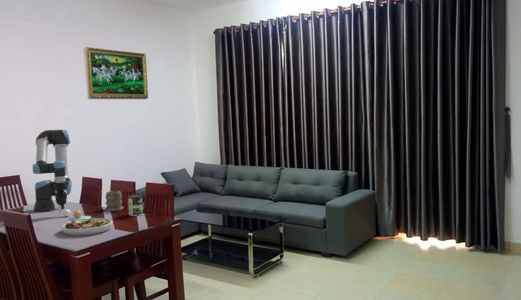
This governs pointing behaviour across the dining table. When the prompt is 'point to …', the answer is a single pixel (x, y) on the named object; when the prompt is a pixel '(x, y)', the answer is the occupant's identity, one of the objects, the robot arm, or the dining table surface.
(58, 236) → the dining table surface
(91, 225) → the bowl
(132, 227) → the dining table surface
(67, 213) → the cue ball
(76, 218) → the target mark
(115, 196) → the tankard
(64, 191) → the robot arm
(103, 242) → the dining table surface
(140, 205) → the coffee can
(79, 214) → the object ball
